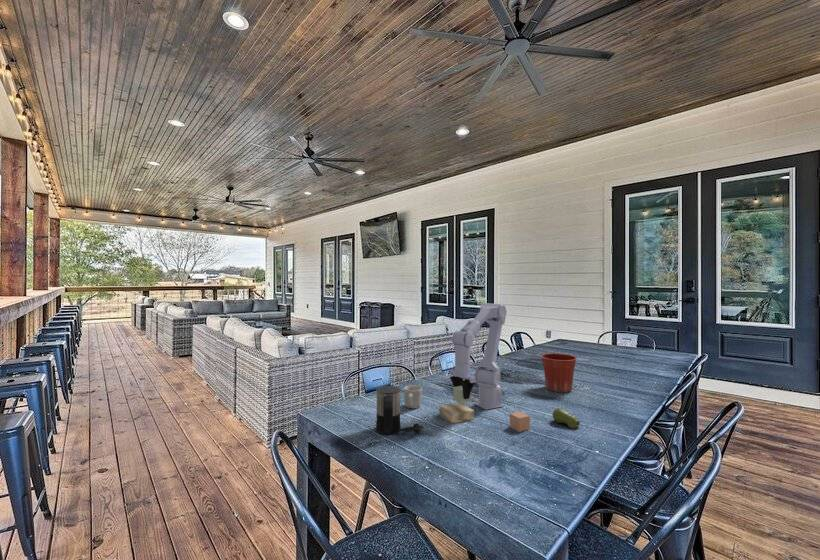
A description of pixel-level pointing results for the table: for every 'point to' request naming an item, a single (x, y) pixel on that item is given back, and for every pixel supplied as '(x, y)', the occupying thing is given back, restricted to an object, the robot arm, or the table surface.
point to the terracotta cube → (520, 421)
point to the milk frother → (390, 411)
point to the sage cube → (459, 395)
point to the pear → (565, 418)
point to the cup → (412, 396)
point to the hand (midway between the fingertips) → (462, 396)
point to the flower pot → (559, 371)
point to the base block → (456, 412)
